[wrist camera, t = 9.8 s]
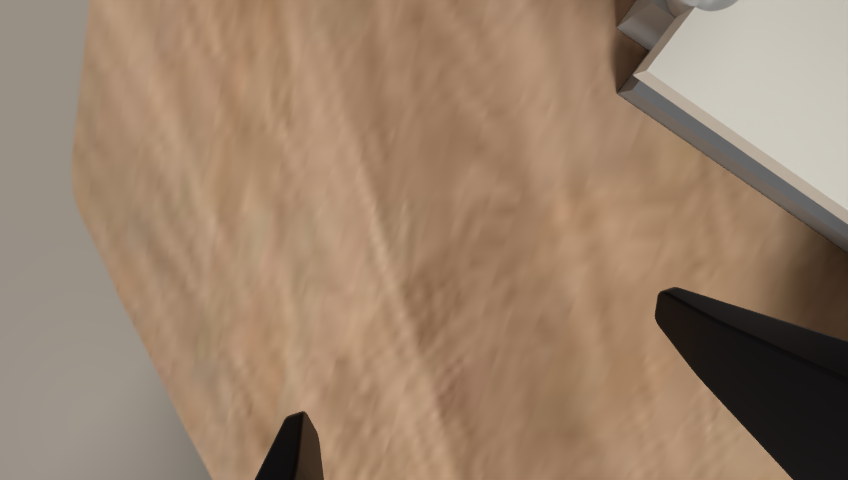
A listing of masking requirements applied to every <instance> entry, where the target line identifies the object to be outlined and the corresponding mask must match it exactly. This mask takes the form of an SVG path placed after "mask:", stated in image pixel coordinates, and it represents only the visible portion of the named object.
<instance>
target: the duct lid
mask: <svg viewBox="0 0 848 480" xmlns="http://www.w3.org/2000/svg"><path fill="white" fill-rule="evenodd" d="M667 4H668V7H669V9H670V11H671V12H672V13H673V15H675V16H676V18H675V20H674V21H673V22H672V24H671V25H670V26H669V28H668V29H667V30H666V32H665V33H664V34H663V36H662V37H661V38H660V39H659V41H658V42H657V43H656V45H655V46H654V47H653V49H652V50H651V51H650V53H649V54H648V55H647V57H646V58H645V59H644V61H643V62H642V63H641V64H640V66H639V67H638V68H637V70H636V71H635V72H634V74H633V76H635V77H636V78H638V79H639V80H640V81H642V82H643V83H645V84H646V85H648V86H649V87H651V88H652V89H653V90H655V91H656V92H658V93H659V94H661V95H662V96H663V97H665V98H666V99H668V100H669V101H671V102H672V103H674V104H675V105H676V106H678V107H679V108H681V109H682V110H684V111H685V112H687V113H688V114H689V115H691V116H692V117H694V118H695V119H697V120H698V121H699V122H701V123H702V124H704V125H705V126H707V127H708V128H710V129H711V130H712V131H714V132H715V133H717V134H718V135H720V136H721V137H723V138H724V139H725V140H727V141H728V142H730V143H731V144H733V145H734V146H736V147H737V148H738V149H740V150H741V151H743V152H744V153H746V154H747V155H748V156H750V157H751V158H753V159H754V160H756V161H757V162H759V163H760V164H761V165H763V166H764V167H766V168H767V169H769V170H770V171H772V172H773V173H774V174H776V175H777V176H779V177H780V178H782V179H783V180H785V181H786V182H787V183H789V184H790V185H792V186H793V187H795V188H796V189H797V190H799V191H800V192H802V193H803V194H805V195H806V196H808V197H809V198H810V199H812V200H813V201H815V202H816V203H818V204H819V205H821V206H822V207H823V208H825V209H826V210H828V211H829V212H831V213H832V214H834V215H835V216H836V217H838V218H839V219H841V220H842V221H844V222H845V223H846V224H848V0H667Z"/></svg>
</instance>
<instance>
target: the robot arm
mask: <svg viewBox="0 0 848 480" xmlns="http://www.w3.org/2000/svg"><path fill="white" fill-rule="evenodd" d="M655 319H656V322H657V324H658V325H659V327H660V328H661V329H662V331H663V332H664V333H665V335H666V336H667V337H668V339H669V340H670V341H671V342H672V344H673V345H674V346H675V348H676V349H677V350H678V352H679V353H680V354H681V356H682V357H683V358H684V359H685V361H686V362H687V363H688V365H689V366H690V367H691V369H692V370H693V371H694V372H695V373H696V375H697V376H698V377H699V378H700V379H701V380H702V382H703V383H704V384H705V385H706V386H707V387H708V388H709V389H710V390H711V391H712V392H713V394H714V395H715V396H716V397H717V398H718V399H719V400H720V401H721V402H722V403H723V404H724V405H725V407H726V408H727V409H728V410H729V411H730V412H731V413H732V414H733V415H734V416H735V417H736V418H737V420H738V421H739V422H740V423H741V424H742V425H743V426H744V427H745V428H746V429H747V430H748V431H749V432H750V434H751V435H752V436H753V437H754V438H755V439H756V440H757V441H758V442H759V443H760V444H761V445H762V447H763V448H764V449H765V450H766V451H767V452H768V453H769V454H770V455H771V456H772V457H773V458H774V460H775V461H776V462H777V463H778V464H779V465H780V466H781V467H782V468H783V469H784V470H785V471H786V473H787V474H788V475H789V476H790V477H791V478H792V479H793V480H848V341H845V340H842V339H839V338H836V337H833V336H829V335H826V334H823V333H820V332H817V331H814V330H811V329H807V328H804V327H801V326H798V325H795V324H792V323H788V322H785V321H782V320H779V319H776V318H773V317H769V316H766V315H763V314H760V313H757V312H754V311H751V310H747V309H744V308H741V307H738V306H735V305H732V304H728V303H725V302H722V301H719V300H716V299H713V298H709V297H706V296H703V295H700V294H697V293H694V292H691V291H687V290H684V289H681V288H677V287H673V288H669V289H666V290H663V291H661V292H660V293H659V294H658V297H657V304H656V310H655ZM255 480H324V477H323V469H322V460H321V452H320V443H319V437H318V434H317V431H316V429H315V428H314V426H313V424H312V422H311V420H310V419H309V417H308V415H307V413H306V412H304V411H301V412H298V413H295V414H292V415H289V416H288V417H286V419H285V420H284V422H283V424H282V426H281V428H280V430H279V432H278V434H277V436H276V438H275V440H274V442H273V444H272V446H271V448H270V450H269V452H268V454H267V456H266V458H265V460H264V462H263V464H262V466H261V468H260V470H259V472H258V474H257V476H256V478H255Z"/></svg>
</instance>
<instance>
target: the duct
mask: <svg viewBox="0 0 848 480" xmlns="http://www.w3.org/2000/svg"><path fill="white" fill-rule="evenodd" d="M675 18H676V16H675V15H673V13H672V12H671V11H670V9H669V7H668V4H667V0H636V1H635V3H634V4H633V5H632V7H631V8H630V10H629V11H628V12H627V14H626V15H625V17H624V18H623V19H622V21H621V22H620V24H619V25H618V26H617V29H619V30H620V31H622V32H623V33H624V34H626V35H627V36H629V37H630V38H632V39H633V40H635V41H636V42H637V43H639V44H640V45H642V46H643V47H645V48H646V49H647V50H649V52H648V53H647V54H646V56H645V57H644V58H643V60H642V61H641V62H640V64H641V63H642V62H643V61H644V59H645V58H646V57H647V55H648V54H649V53H650V51H651V50H652V49H653V47H654V46H655V45H656V43H657V42H658V41H659V39H660V38H661V37H662V36H663V34H664V33H665V32H666V30H667V29H668V28H669V26H670V25H671V24H672V22H673V21H674V20H675ZM640 64H639V65H638V66H637V68H638V67H639V66H640ZM637 68H636V69H635V70H634V71H633V73H632V74H631V75H630V77H629V78H628V79H627V81H626V82H625V83H624V85H623V86H622V87H621V89H620V90H619V91H618V93H617V94H618V95H620V96H621V97H622V98H624V99H625V100H627V101H628V102H630V103H631V104H633V105H634V106H636V107H637V108H638V109H640V110H641V111H643V112H644V113H646V114H647V115H649V116H650V117H651V118H653V119H654V120H656V121H657V122H659V123H660V124H662V125H663V126H664V127H666V128H667V129H669V130H670V131H672V132H673V133H675V134H676V135H677V136H679V137H680V138H682V139H683V140H685V141H686V142H688V143H689V144H691V145H692V146H693V147H695V148H696V149H698V150H699V151H701V152H702V153H704V154H705V155H706V156H708V157H709V158H711V159H712V160H714V161H715V162H717V163H718V164H719V165H721V166H722V167H724V168H725V169H727V170H728V171H730V172H731V173H733V174H734V175H735V176H737V177H738V178H740V179H741V180H743V181H744V182H746V183H747V184H748V185H750V186H751V187H753V188H754V189H756V190H757V191H759V192H760V193H761V194H763V195H764V196H766V197H767V198H769V199H770V200H772V201H773V202H774V203H776V204H777V205H779V206H780V207H782V208H783V209H785V210H786V211H788V212H789V213H790V214H792V215H793V216H795V217H796V218H798V219H799V220H801V221H802V222H803V223H805V224H806V225H808V226H809V227H811V228H812V229H814V230H815V231H816V232H818V233H819V234H821V235H822V236H824V237H825V238H827V239H828V240H830V241H831V242H832V243H834V244H835V245H837V246H838V247H840V248H841V249H843V250H844V251H845V252H847V253H848V224H846V223H845V222H844V221H842V220H841V219H839V218H838V217H836V216H835V215H834V214H832V213H831V212H829V211H828V210H826V209H825V208H823V207H822V206H821V205H819V204H818V203H816V202H815V201H813V200H812V199H810V198H809V197H808V196H806V195H805V194H803V193H802V192H800V191H799V190H797V189H796V188H795V187H793V186H792V185H790V184H789V183H787V182H786V181H785V180H783V179H782V178H780V177H779V176H777V175H776V174H774V173H773V172H772V171H770V170H769V169H767V168H766V167H764V166H763V165H761V164H760V163H759V162H757V161H756V160H754V159H753V158H751V157H750V156H748V155H747V154H746V153H744V152H743V151H741V150H740V149H738V148H737V147H736V146H734V145H733V144H731V143H730V142H728V141H727V140H725V139H724V138H723V137H721V136H720V135H718V134H717V133H715V132H714V131H712V130H711V129H710V128H708V127H707V126H705V125H704V124H702V123H701V122H699V121H698V120H697V119H695V118H694V117H692V116H691V115H689V114H688V113H687V112H685V111H684V110H682V109H681V108H679V107H678V106H676V105H675V104H674V103H672V102H671V101H669V100H668V99H666V98H665V97H663V96H662V95H661V94H659V93H658V92H656V91H655V90H653V89H652V88H651V87H649V86H648V85H646V84H645V83H643V82H642V81H640V80H639V79H638V78H636V77H635V76H633V74H634V72H635V71H636V70H637Z"/></svg>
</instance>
